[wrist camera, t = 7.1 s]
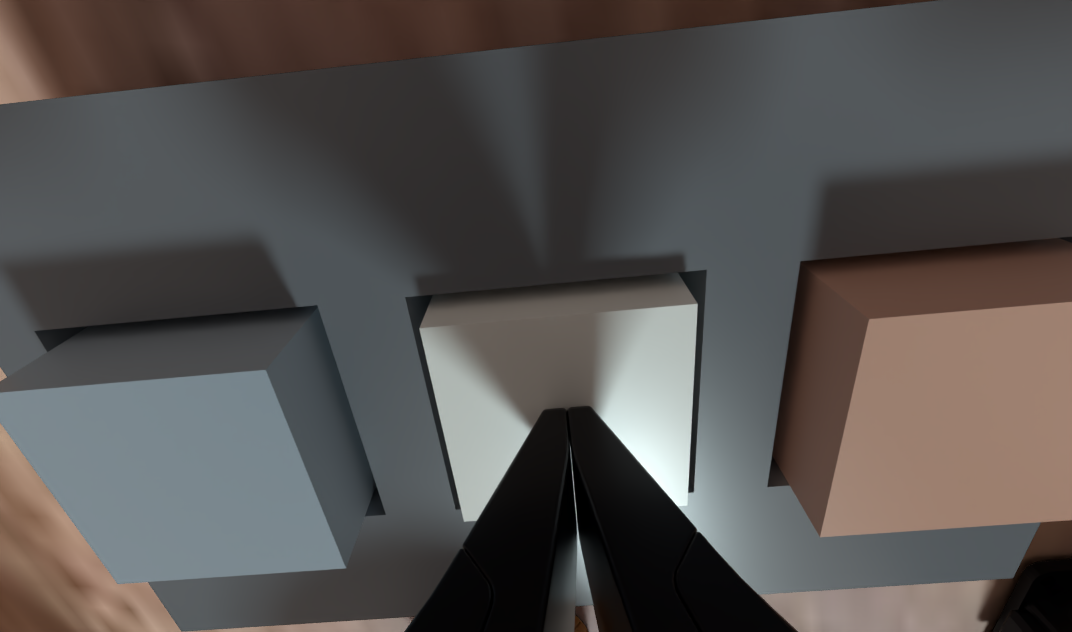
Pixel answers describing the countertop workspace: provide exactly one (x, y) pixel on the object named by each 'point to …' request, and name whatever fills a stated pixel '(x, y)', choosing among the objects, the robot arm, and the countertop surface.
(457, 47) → the countertop surface
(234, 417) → the slate key
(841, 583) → the key panel
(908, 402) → the rust key
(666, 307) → the pale key
